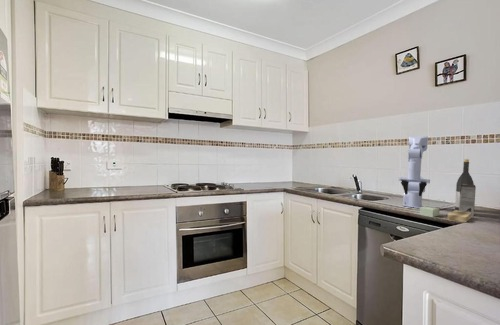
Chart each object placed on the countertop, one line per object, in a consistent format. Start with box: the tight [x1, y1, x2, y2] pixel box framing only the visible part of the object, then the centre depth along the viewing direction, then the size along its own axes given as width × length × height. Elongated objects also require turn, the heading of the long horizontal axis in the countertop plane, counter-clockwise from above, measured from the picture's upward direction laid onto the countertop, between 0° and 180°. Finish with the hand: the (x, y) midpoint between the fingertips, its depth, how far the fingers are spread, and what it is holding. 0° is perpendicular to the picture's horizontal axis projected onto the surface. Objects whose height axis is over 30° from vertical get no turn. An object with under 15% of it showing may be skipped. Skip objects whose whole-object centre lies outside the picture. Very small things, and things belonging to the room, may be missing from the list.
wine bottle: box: [454, 158, 475, 211], centre depth 151 cm, size 8×8×30 cm
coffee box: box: [458, 184, 477, 217], centre depth 141 cm, size 9×6×16 cm
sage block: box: [419, 205, 440, 218], centre depth 136 cm, size 6×8×4 cm
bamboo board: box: [446, 209, 473, 223], centre depth 129 cm, size 7×16×2 cm, turn 131°
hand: (413, 195), depth 142 cm, fingers open, 6 cm apart
